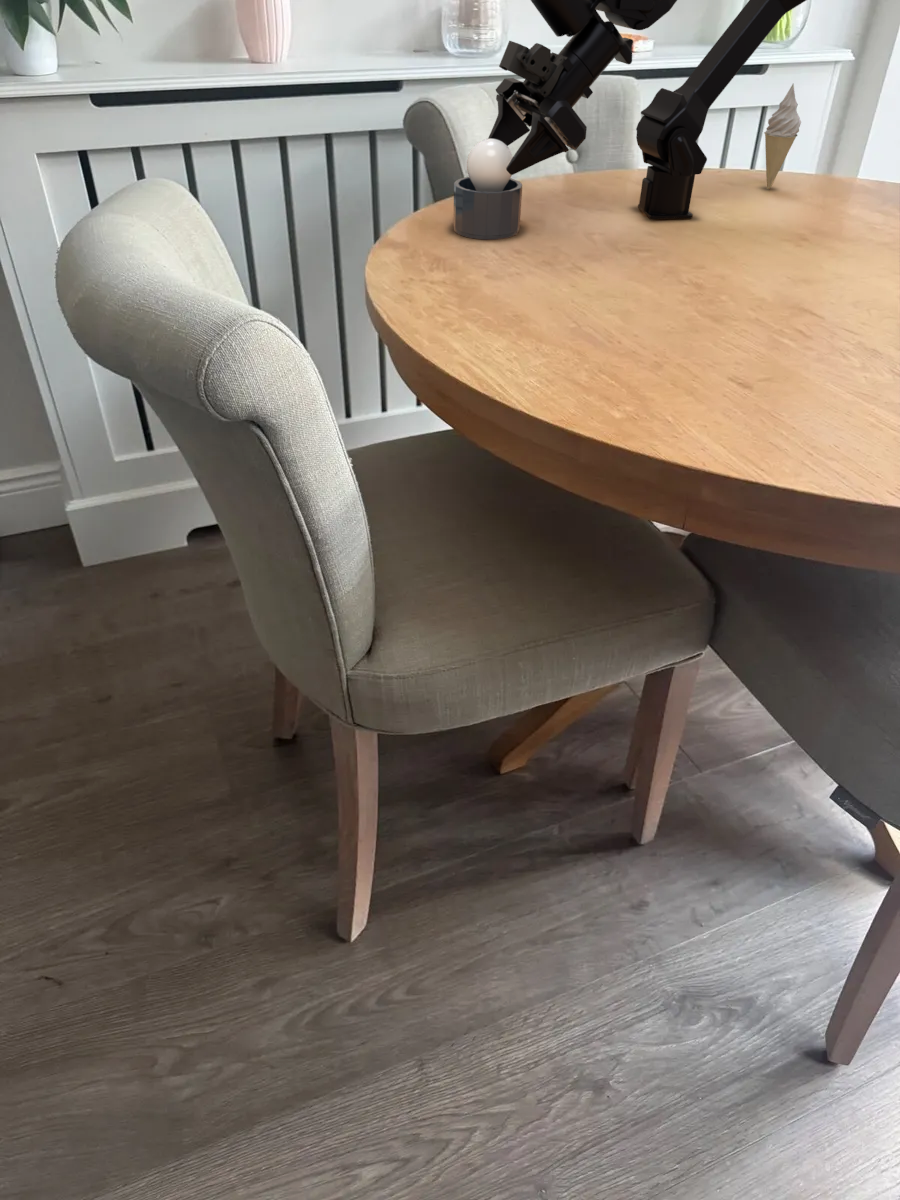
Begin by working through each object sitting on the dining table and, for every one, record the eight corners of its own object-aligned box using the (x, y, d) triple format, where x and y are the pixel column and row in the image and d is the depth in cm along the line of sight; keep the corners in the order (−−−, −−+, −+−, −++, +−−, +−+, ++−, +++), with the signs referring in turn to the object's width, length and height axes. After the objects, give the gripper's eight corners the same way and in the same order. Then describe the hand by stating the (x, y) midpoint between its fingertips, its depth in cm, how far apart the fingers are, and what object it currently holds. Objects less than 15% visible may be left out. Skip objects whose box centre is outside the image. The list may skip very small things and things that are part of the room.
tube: (511, 219, 127) (514, 174, 123) (525, 238, 120) (528, 191, 116) (449, 221, 125) (449, 176, 122) (459, 240, 118) (460, 193, 115)
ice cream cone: (788, 193, 140) (814, 86, 130) (756, 192, 140) (780, 85, 130) (779, 185, 144) (804, 80, 134) (749, 184, 144) (771, 80, 134)
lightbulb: (478, 234, 119) (481, 145, 112) (457, 222, 123) (459, 136, 116) (518, 229, 121) (523, 141, 114) (497, 217, 126) (500, 132, 119)
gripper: (513, 7, 115) (434, 106, 119) (573, 22, 101) (481, 134, 106) (562, 73, 122) (486, 164, 126) (624, 96, 108) (536, 198, 113)
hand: (495, 164), depth 118 cm, fingers open, 9 cm apart
